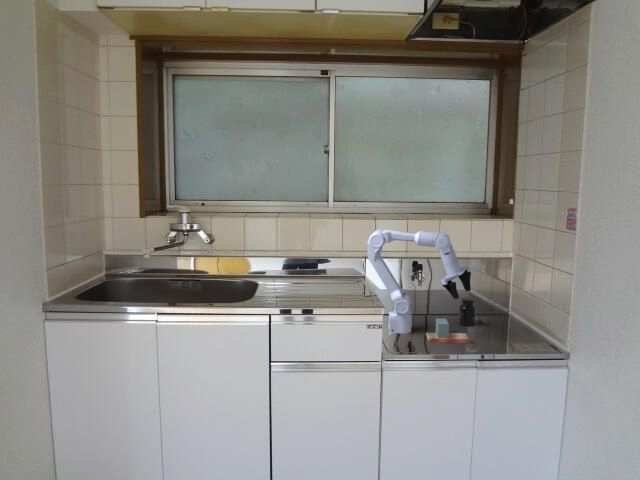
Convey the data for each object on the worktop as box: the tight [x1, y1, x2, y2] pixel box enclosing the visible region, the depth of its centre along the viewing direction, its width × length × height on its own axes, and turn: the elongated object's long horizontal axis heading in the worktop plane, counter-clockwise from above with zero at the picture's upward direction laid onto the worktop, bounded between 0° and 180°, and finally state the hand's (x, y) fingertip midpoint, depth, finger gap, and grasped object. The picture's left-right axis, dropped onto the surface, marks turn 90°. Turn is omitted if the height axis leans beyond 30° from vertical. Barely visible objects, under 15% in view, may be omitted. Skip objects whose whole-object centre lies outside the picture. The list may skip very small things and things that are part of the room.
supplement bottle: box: [457, 297, 477, 328], centre depth 191 cm, size 7×7×12 cm
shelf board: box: [425, 332, 473, 344], centre depth 177 cm, size 16×10×2 cm, turn 85°
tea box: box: [434, 318, 450, 338], centre depth 179 cm, size 4×6×6 cm
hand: (462, 294), depth 176 cm, fingers open, 7 cm apart
